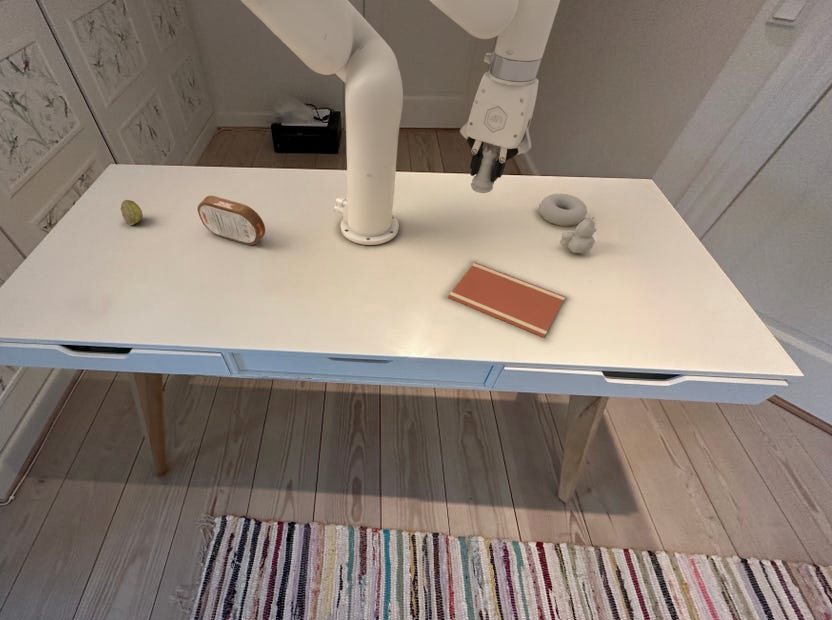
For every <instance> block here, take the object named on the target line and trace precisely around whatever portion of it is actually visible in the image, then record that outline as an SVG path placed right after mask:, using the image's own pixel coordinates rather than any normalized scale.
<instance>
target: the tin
mask: <svg viewBox="0 0 832 620" xmlns="http://www.w3.org/2000/svg"><path fill="white" fill-rule="evenodd" d="M197 213H198V216H199V219H200V220H201V223H202V225H204V227H205V228H206V229H207V230H208V231H210V232H211V233H212V234H214V235H216V236H218V237H220V238H224V239H227V240H230V241H234V242H237V243H239V244H240V243H241V244H243V245H247V246H253V245H255V244H257V243H258V242H259V241H260V240H261V239H262V238H264V237H265V235H266V226H265V223H264V220H263V219H262V217H261V215H259V213H258V212H257V211H256V210H255V209H254V208H252V207H251V206H249V205H246V204H244V203H241V202H238V201H233V200H230V199H226V198H223V197H219V196H216V195H207V196H205V197H204V198H203V200H202V201H201V202H200V203H198V205H197Z"/></svg>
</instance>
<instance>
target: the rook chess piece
mask: <svg viewBox="0 0 832 620" xmlns="http://www.w3.org/2000/svg"><path fill="white" fill-rule="evenodd" d="M491 146H492V147H491ZM482 153H483V158H482V159H481V161H482V163H481V166H480V169H479V171H478V173H477V174H476V175H474V176H473V178H472V180H471V181H472V182H471V183H470V187H471V189H472V191H474V192H476V193H479V194H488V193H490V192H491V191H493V189H494V185H495V182H494V183H492V182H491V181H490V179H491V176H492V172H493V169H494V165H495V162H496V161H497V159H498V158H499V157H500V146H496V145H493V144H488V145H485V147H484V148H483V151H482Z"/></svg>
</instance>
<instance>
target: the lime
mask: <svg viewBox="0 0 832 620" xmlns="http://www.w3.org/2000/svg"><path fill="white" fill-rule="evenodd" d="M120 211H121V215H122V218H123V220H124V221H125V223H126V224H128V225H130V226H133V225H136V224H138V223H139V222H141V221H142V219H143V217H144V216H143V215H144V214H143V210H142V209H141V207H140V206H139V205H138V203H136V202H135V201H134V200H130V199H124V200H123V201H122V202H121V205H120Z"/></svg>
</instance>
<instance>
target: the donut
mask: <svg viewBox="0 0 832 620" xmlns="http://www.w3.org/2000/svg"><path fill="white" fill-rule="evenodd" d="M538 210H539V214H540V215H541V217H542V218H543V219H544V220H546V221H547V222H549V223H551V224H553V225H557V226H562V227H571V226H575V225H578V224H579V223H580V222H581V221H583V220H585V219H586V217H587V214H588V207H587V205H586V203H585V202H584V201H583V200H581V199H580V198H578V197H576V196H574V195H572V194H568V193H553V194H549V195H547V196H545V197H544V198H542V200H541V201H540V203H539V205H538Z"/></svg>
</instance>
